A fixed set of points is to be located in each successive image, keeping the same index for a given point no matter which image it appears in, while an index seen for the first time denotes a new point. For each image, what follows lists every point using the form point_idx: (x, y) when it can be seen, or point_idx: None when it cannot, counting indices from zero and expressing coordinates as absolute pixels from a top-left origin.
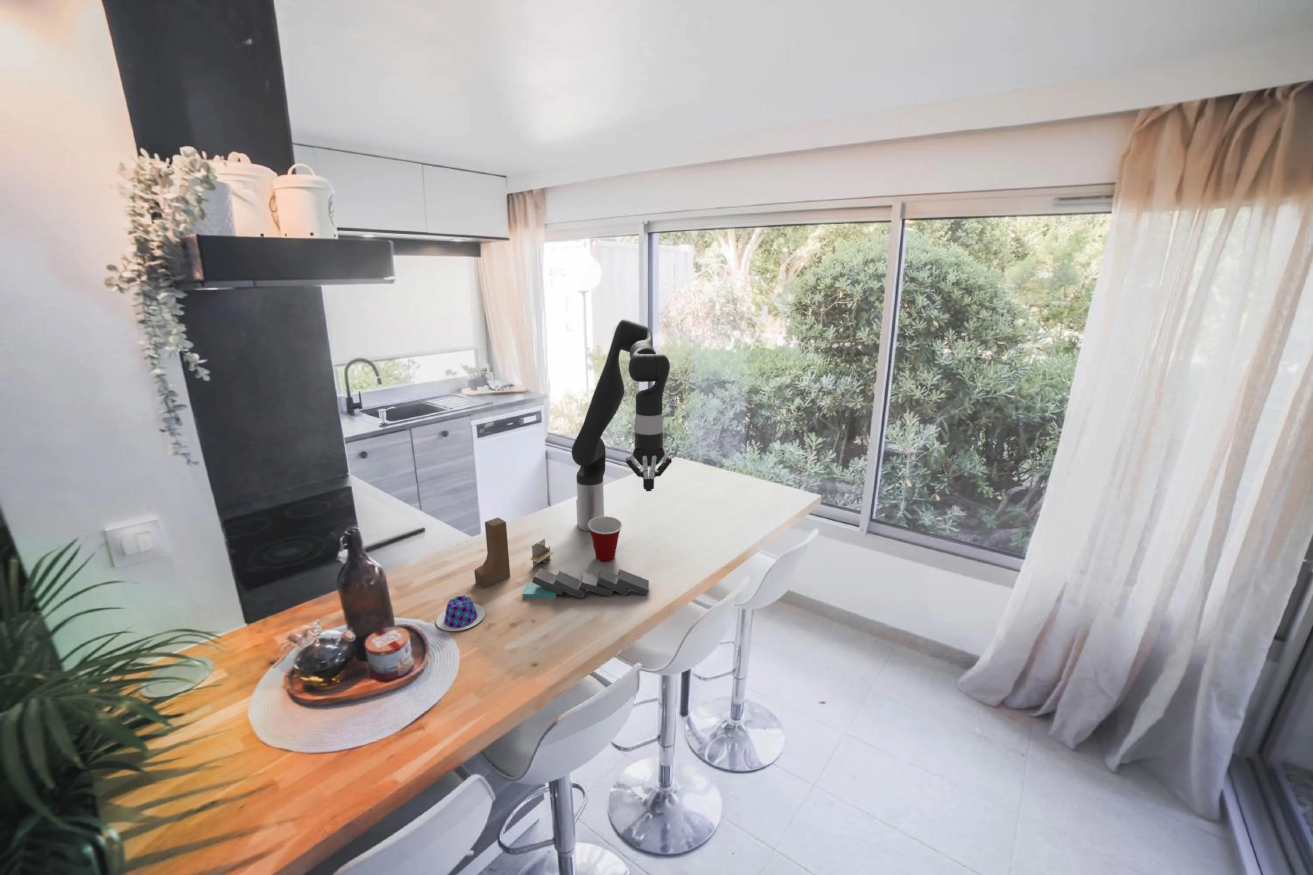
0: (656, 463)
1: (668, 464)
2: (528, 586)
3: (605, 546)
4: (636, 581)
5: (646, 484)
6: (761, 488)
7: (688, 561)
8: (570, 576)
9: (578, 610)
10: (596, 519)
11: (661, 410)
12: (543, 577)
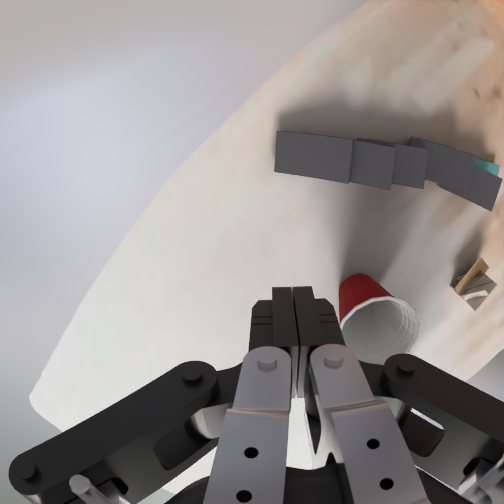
0: (198, 496)
1: (55, 444)
2: None
3: (371, 287)
4: (306, 150)
5: (317, 313)
6: None
7: (180, 265)
8: (444, 181)
9: (416, 102)
10: None
11: None
12: (487, 180)
